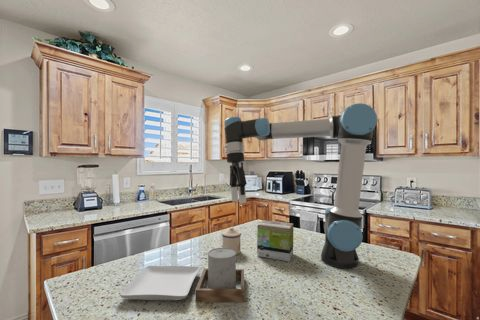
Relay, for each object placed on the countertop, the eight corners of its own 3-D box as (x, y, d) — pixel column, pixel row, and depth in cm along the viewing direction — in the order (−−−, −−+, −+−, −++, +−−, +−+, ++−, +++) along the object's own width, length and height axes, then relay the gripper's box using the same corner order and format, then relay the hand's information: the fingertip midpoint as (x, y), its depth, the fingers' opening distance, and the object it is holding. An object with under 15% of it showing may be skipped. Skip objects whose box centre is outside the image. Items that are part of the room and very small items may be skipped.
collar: (244, 278, 88) (244, 269, 89) (244, 302, 73) (244, 290, 74) (203, 278, 89) (203, 268, 89) (195, 301, 74) (195, 290, 74)
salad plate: (146, 273, 93) (146, 264, 93) (200, 274, 93) (201, 265, 93) (117, 305, 72) (117, 294, 72) (187, 307, 72) (187, 295, 72)
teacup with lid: (243, 254, 111) (243, 229, 112) (223, 256, 109) (223, 231, 109) (237, 246, 123) (237, 223, 123) (219, 247, 121) (219, 224, 121)
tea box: (256, 257, 109) (256, 224, 109) (263, 249, 118) (263, 219, 118) (289, 262, 103) (289, 227, 103) (293, 254, 113) (293, 222, 113)
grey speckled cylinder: (239, 284, 84) (239, 249, 84) (229, 299, 75) (229, 259, 75) (215, 280, 87) (215, 246, 87) (202, 293, 78) (202, 256, 78)
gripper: (221, 157, 115) (224, 201, 113) (233, 148, 91) (237, 204, 89) (236, 156, 117) (240, 200, 115) (251, 148, 93) (256, 203, 91)
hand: (238, 202), depth 102 cm, fingers open, 13 cm apart
